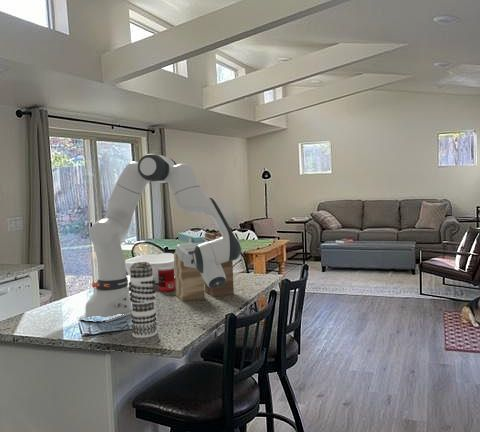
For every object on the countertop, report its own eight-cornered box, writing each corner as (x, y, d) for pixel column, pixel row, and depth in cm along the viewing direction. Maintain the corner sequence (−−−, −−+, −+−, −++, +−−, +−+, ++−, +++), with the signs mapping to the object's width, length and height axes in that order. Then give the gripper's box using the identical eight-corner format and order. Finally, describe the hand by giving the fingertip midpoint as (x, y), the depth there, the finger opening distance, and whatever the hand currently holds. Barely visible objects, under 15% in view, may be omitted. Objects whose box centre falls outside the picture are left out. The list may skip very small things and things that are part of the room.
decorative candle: (160, 329, 181) (156, 260, 179) (154, 337, 172) (151, 265, 170) (135, 330, 181) (131, 261, 179) (128, 338, 172) (124, 265, 170)
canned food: (176, 288, 250) (175, 266, 249) (172, 291, 242) (171, 269, 241) (161, 288, 251) (160, 266, 250) (157, 292, 243) (156, 269, 242)
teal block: (202, 244, 213) (202, 237, 213) (195, 244, 212) (194, 237, 212) (185, 238, 237) (185, 232, 237) (178, 239, 236) (178, 232, 236)
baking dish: (146, 274, 290) (145, 252, 290) (192, 275, 282) (191, 253, 281) (114, 287, 258) (113, 262, 257) (165, 288, 249) (164, 263, 249)
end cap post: (233, 294, 232) (231, 233, 230) (213, 296, 228) (210, 235, 226) (224, 289, 243) (222, 231, 241) (204, 291, 239) (202, 233, 237)
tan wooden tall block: (204, 298, 227) (202, 250, 225) (183, 300, 223) (180, 252, 221) (196, 292, 238) (194, 247, 236) (175, 295, 234) (173, 249, 232)
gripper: (230, 249, 208) (219, 231, 219) (182, 254, 201) (173, 234, 211) (228, 262, 212) (217, 242, 222) (180, 267, 204) (172, 247, 214)
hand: (195, 238), depth 217 cm, fingers closed on teal block, 3 cm apart
